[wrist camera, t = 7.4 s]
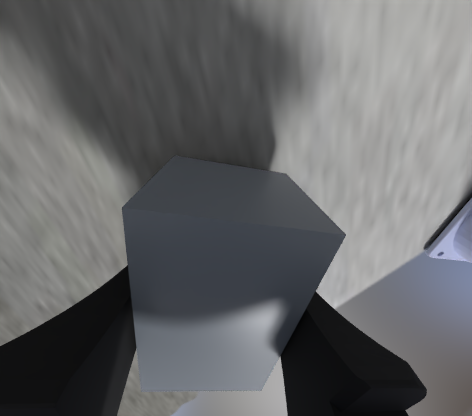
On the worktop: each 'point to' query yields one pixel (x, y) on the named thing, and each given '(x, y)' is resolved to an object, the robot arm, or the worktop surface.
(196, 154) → the worktop surface
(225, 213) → the grey rectangular block
